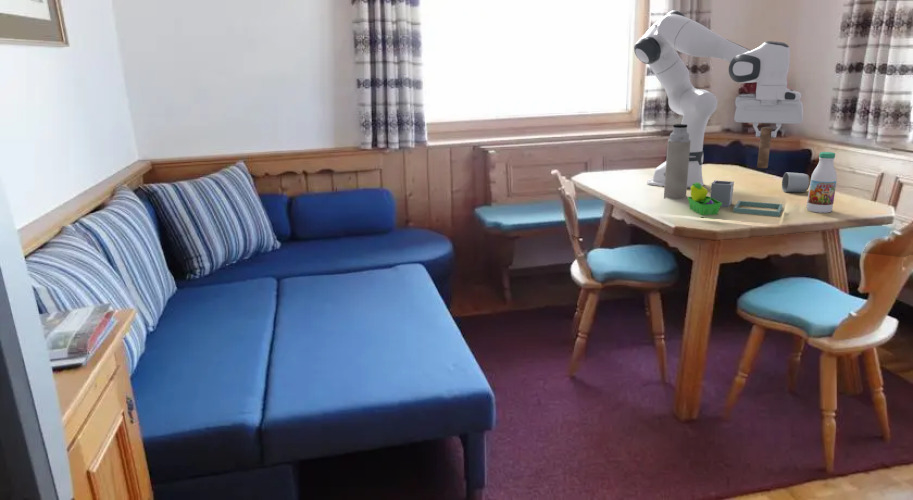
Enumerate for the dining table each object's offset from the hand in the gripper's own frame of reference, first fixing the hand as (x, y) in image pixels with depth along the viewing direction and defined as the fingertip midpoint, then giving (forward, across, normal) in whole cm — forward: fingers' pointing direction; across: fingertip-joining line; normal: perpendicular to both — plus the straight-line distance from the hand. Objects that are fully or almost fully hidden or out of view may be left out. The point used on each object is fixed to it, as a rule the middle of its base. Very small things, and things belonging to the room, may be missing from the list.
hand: (765, 136), depth 208 cm
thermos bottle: (+26, -30, +11) cm, 41 cm away
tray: (+26, 0, 0) cm, 26 cm away
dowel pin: (+10, 0, 0) cm, 10 cm away
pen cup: (+26, -12, +4) cm, 29 cm away
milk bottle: (+26, +18, +12) cm, 34 cm away
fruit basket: (+26, -16, -9) cm, 32 cm away
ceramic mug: (+26, +8, +43) cm, 51 cm away
